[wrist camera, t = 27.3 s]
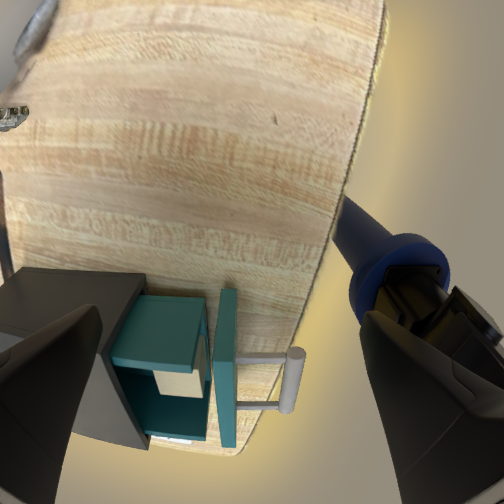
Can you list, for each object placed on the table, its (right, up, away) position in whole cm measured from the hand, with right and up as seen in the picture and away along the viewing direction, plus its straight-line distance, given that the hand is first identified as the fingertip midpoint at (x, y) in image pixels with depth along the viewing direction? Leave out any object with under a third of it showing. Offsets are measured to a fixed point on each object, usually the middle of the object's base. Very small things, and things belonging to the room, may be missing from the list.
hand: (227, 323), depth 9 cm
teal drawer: (-5, -6, +16) cm, 18 cm away
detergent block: (-5, -6, +15) cm, 17 cm away
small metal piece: (-21, +14, +8) cm, 26 cm away
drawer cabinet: (-16, -5, +16) cm, 23 cm away
